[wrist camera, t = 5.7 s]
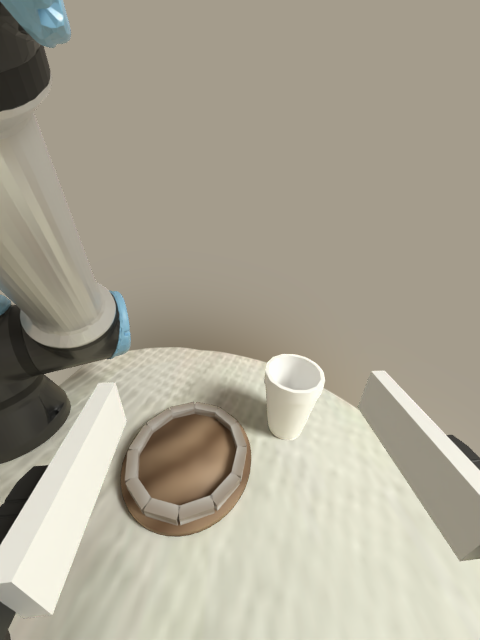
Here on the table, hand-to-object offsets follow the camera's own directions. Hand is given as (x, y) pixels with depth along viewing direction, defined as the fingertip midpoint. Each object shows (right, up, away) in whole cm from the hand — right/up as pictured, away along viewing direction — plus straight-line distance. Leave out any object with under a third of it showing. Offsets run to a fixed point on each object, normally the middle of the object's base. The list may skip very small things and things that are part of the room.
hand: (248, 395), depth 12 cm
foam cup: (+8, -16, +32) cm, 37 cm away
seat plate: (-9, -18, +26) cm, 33 cm away
